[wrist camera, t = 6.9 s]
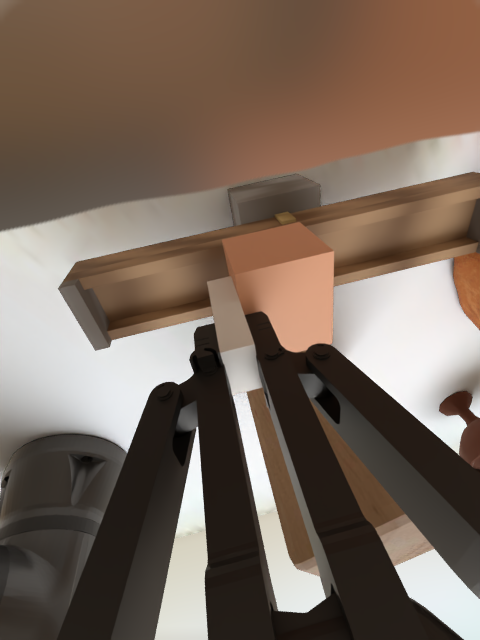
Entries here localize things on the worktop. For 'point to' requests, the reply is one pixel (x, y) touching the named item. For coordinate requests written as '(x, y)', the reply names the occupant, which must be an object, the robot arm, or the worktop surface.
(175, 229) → the worktop surface
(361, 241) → the beam
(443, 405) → the ice cream bowl
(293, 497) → the wooden block
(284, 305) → the block
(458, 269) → the bread
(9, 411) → the worktop surface
